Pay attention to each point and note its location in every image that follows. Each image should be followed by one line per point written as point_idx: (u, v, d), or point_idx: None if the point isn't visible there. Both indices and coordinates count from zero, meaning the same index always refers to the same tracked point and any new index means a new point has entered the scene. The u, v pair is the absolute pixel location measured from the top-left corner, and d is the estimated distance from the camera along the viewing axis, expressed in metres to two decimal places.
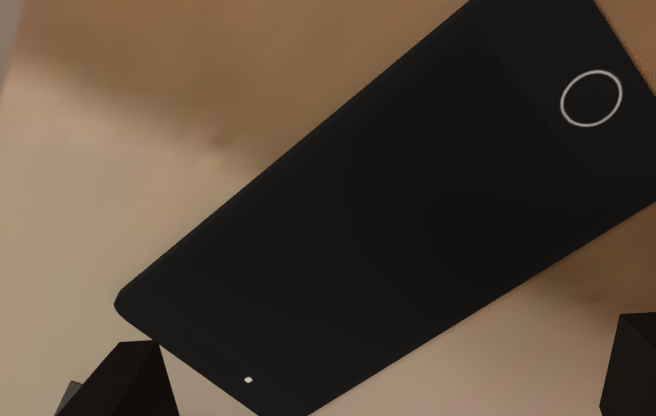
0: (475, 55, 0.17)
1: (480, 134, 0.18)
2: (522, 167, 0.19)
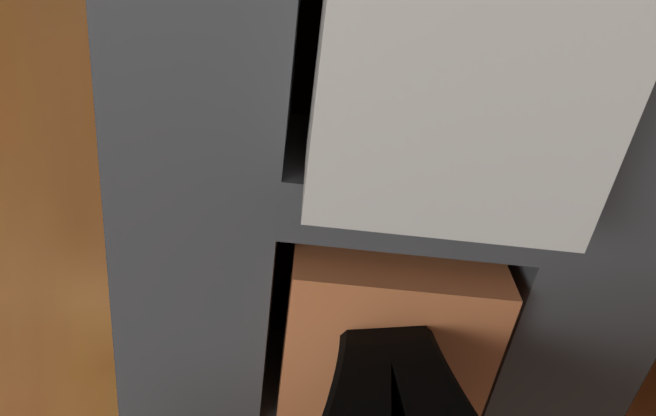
0: None
1: None
2: None
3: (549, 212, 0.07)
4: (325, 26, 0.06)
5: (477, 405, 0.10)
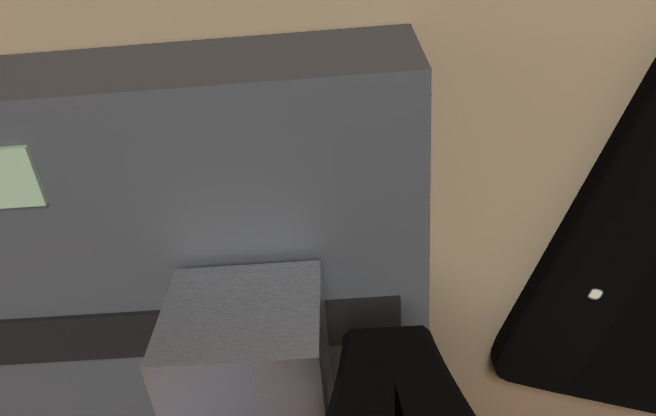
0: None
1: None
2: None
3: None
4: None
5: None
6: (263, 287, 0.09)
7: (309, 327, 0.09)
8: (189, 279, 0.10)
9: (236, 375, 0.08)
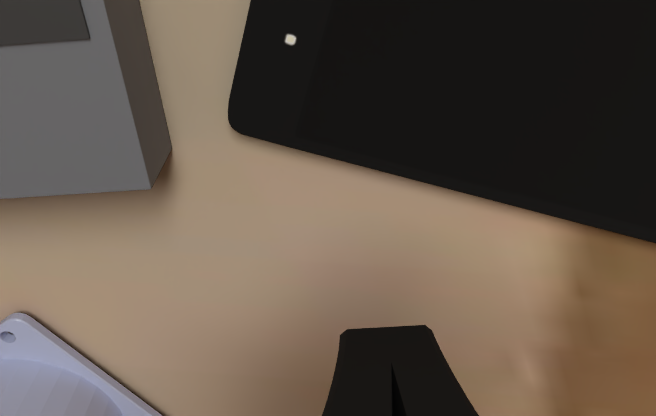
0: None
1: None
2: None
3: None
4: None
5: None
6: None
7: None
8: None
9: None
